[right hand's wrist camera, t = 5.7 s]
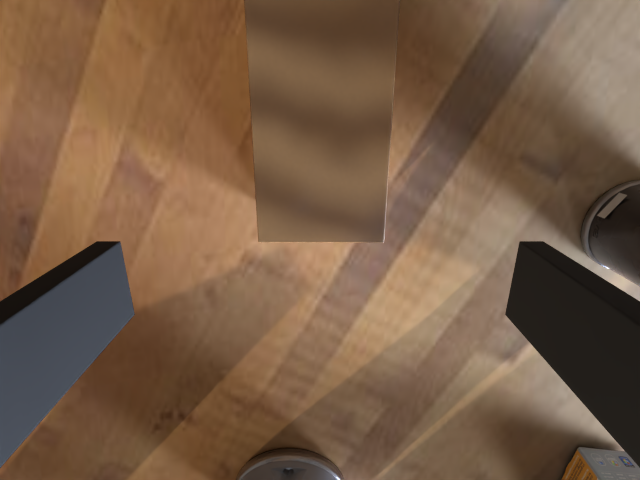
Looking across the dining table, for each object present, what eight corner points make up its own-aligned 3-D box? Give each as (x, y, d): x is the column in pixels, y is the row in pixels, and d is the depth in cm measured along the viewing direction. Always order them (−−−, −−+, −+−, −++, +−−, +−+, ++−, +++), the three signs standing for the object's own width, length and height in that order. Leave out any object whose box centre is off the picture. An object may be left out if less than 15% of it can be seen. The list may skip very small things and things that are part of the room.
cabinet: (263, -7, 32) (241, -51, 23) (379, -6, 32) (403, -50, 23) (272, 209, 38) (258, 242, 29) (368, 209, 38) (384, 242, 29)
